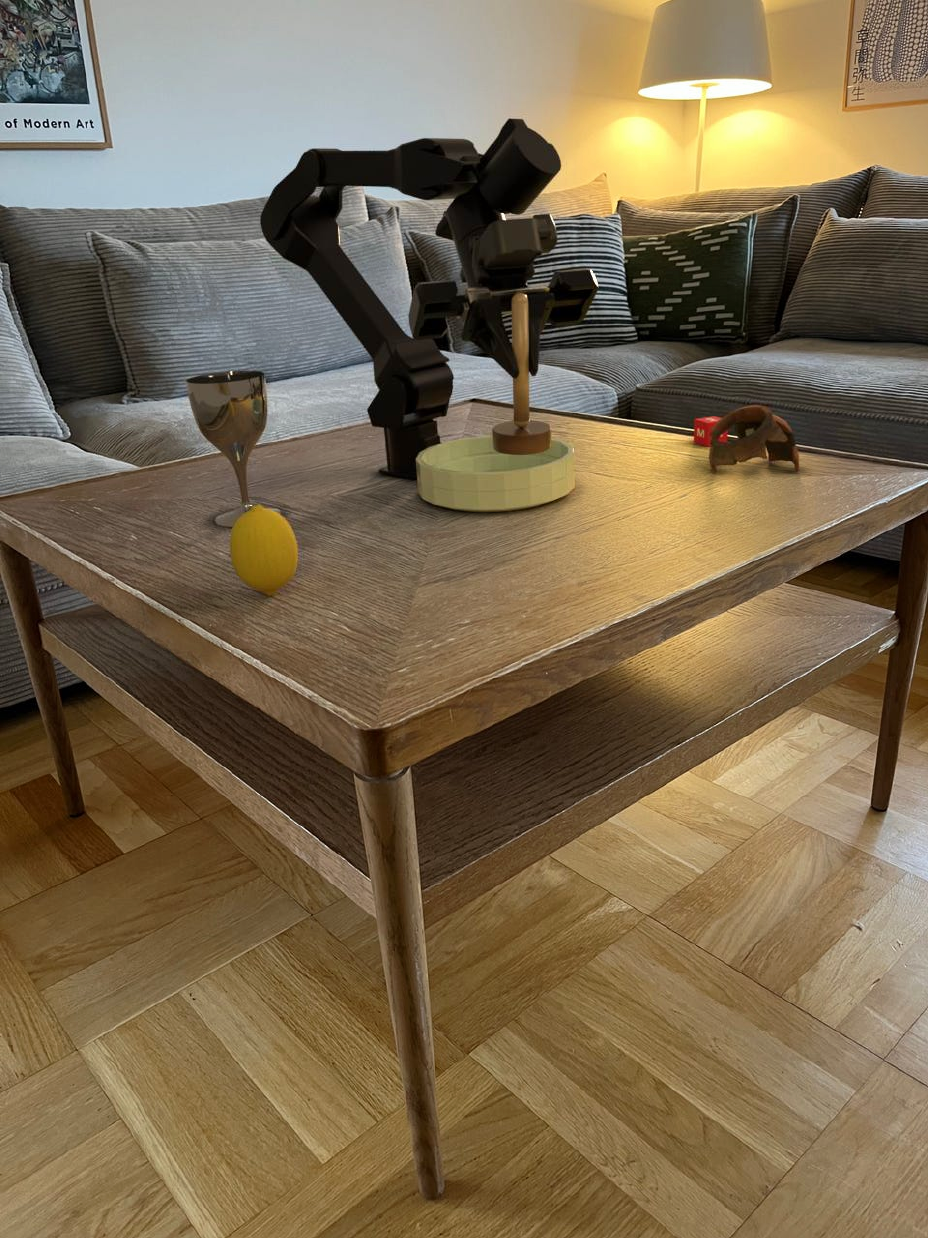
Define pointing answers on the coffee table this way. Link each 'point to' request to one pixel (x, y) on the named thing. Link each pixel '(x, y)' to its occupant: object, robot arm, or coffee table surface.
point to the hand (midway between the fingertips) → (525, 374)
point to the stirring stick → (521, 396)
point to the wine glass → (231, 421)
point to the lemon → (263, 549)
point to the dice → (706, 430)
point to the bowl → (493, 475)
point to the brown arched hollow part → (753, 438)
